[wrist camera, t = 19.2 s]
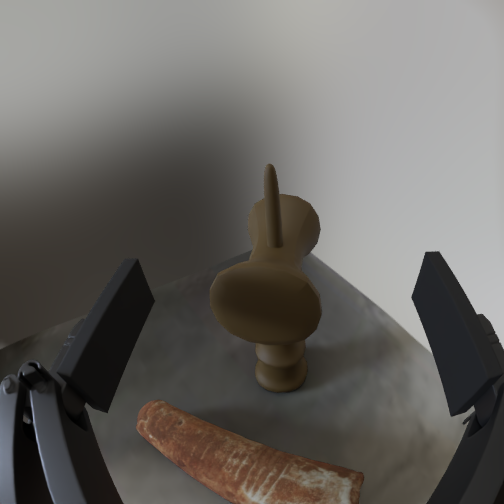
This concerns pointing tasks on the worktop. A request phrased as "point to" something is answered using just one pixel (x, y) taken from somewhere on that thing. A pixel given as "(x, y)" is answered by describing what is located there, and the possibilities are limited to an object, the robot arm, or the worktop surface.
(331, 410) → the worktop surface
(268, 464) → the reddish brown tapered cylinder
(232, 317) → the kendama
